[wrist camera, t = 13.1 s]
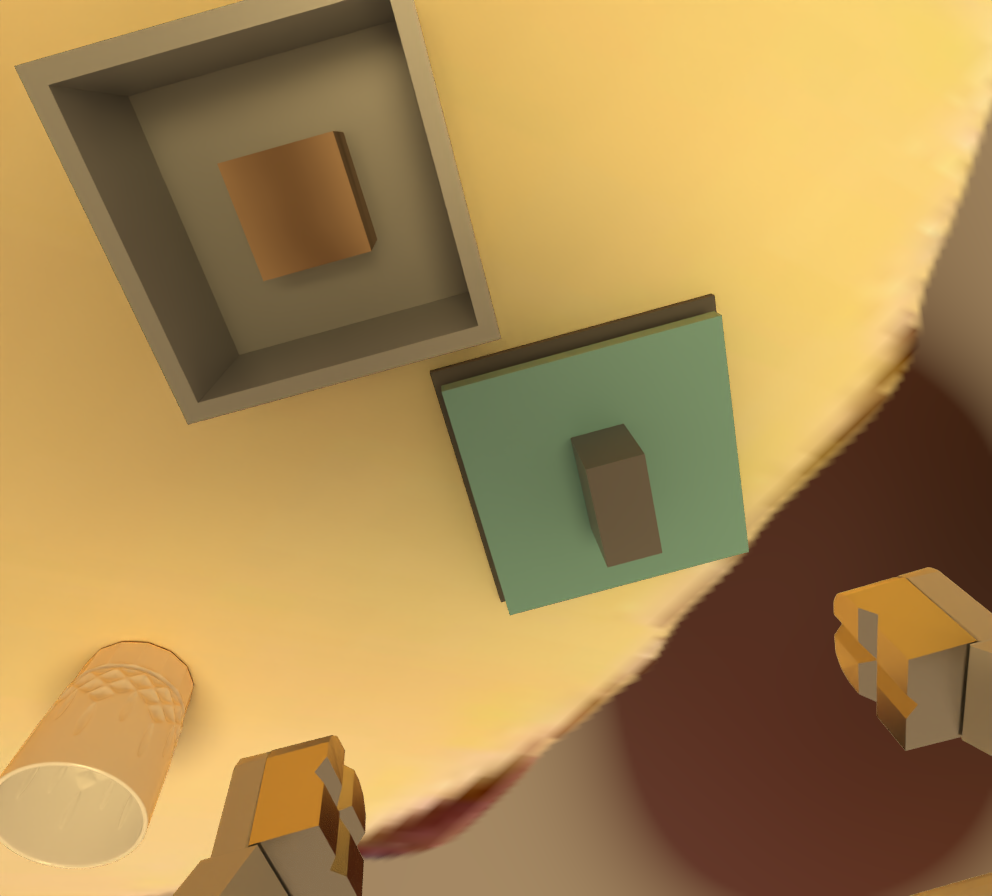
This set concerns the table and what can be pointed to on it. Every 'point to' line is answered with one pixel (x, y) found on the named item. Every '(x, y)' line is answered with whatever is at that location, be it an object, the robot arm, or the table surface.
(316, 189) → the block
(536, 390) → the lid
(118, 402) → the table surface
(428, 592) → the table surface
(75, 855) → the tan cup
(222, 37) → the storage box
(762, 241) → the table surface
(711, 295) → the rubber mat
